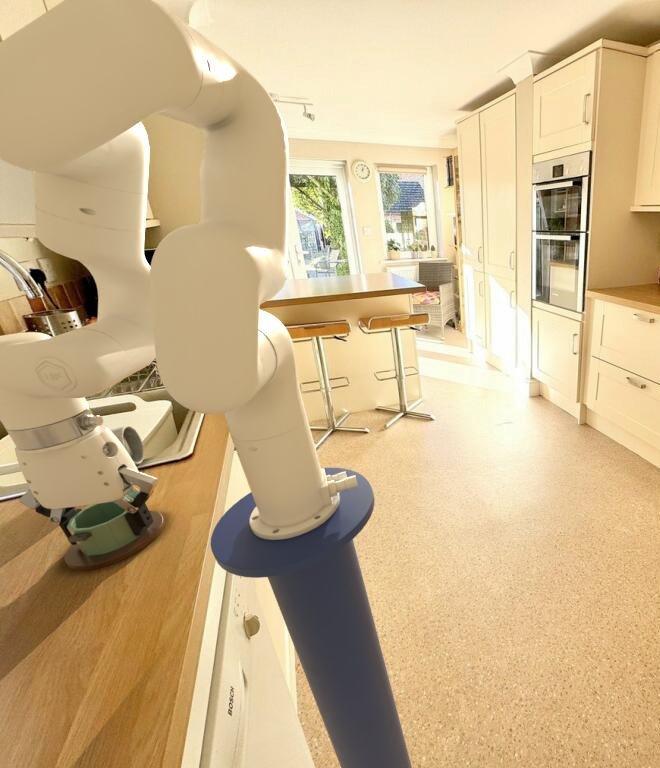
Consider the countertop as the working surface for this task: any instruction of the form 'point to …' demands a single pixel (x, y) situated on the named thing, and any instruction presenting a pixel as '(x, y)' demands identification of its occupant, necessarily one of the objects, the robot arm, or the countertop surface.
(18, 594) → the countertop surface
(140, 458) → the ceramic mug
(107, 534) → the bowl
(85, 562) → the turntable
